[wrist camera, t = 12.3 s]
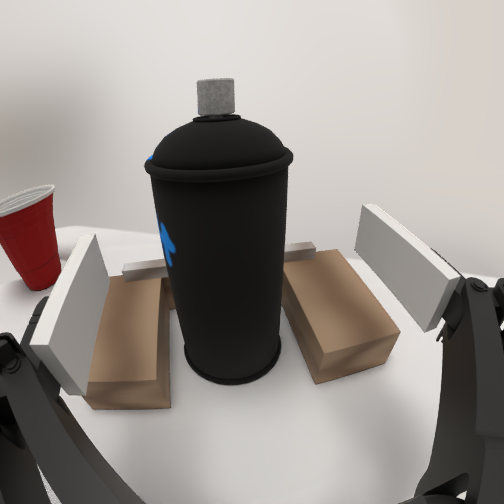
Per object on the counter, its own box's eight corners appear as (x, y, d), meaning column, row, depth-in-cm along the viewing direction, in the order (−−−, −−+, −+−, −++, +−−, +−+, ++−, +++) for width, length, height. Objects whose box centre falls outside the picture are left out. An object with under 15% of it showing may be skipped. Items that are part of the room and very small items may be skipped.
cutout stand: (92, 408, 17) (61, 370, 14) (111, 307, 27) (95, 267, 24) (385, 363, 21) (405, 320, 18) (331, 279, 31) (338, 238, 28)
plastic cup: (90, 254, 36) (69, 173, 30) (57, 305, 27) (19, 210, 21) (38, 256, 36) (15, 185, 29) (2, 300, 27) (-32, 220, 20)
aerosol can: (288, 320, 26) (302, 81, 15) (269, 395, 19) (281, 72, 9) (205, 305, 28) (182, 85, 17) (169, 370, 21) (102, 93, 11)
